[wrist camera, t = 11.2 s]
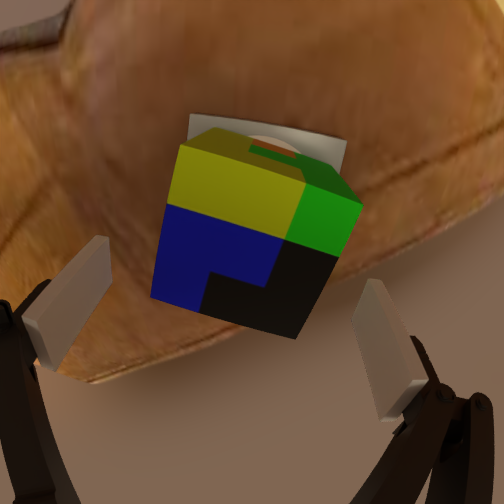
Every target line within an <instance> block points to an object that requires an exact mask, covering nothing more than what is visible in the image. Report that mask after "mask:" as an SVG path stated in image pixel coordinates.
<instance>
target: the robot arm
mask: <svg viewBox="0 0 504 504" xmlns="http://www.w3.org/2000/svg"><path fill="white" fill-rule="evenodd" d="M112 283H113V281H112V271H111V259H110V245H109V237H107V236H101V235H95V236H94V237H93V238H92V239H91V240H90V241H89V242H88V243H87V244H86V245H85V246H84V247H83V248H82V249H81V250H80V251H79V252H78V253H77V254H76V256H75V257H74V258H73V259H72V260H71V261H70V262H69V263H68V264H67V265H66V266H65V267H64V268H63V269H62V270H61V271H60V272H59V273H58V275H57V276H56V277H55V278H54V279H53V280H50V279H47V280H45V281H43V282H41V283H40V284H38V285H37V286H36V288H35V289H34V290H33V291H32V293H30V294H29V295H28V296H27V298H26V299H25V300H24V301H23V302H22V303H21V304H20V306H19V307H18V308H17V309H16V310H15V311H14V313H13V312H12V309H11V306H10V303H9V302H8V301H6V300H2V299H0V440H1V445H2V449H3V454H4V458H5V462H6V465H7V469H8V473H9V476H10V479H11V483H12V486H13V489H14V492H15V500H14V501H13V504H81V502H80V500H79V498H78V496H77V494H76V491H75V489H74V487H73V485H72V482H71V480H70V478H69V475H68V473H67V471H66V468H65V465H64V463H63V461H62V458H61V455H60V452H59V450H58V447H57V444H56V441H55V438H54V435H53V432H52V429H51V426H50V423H49V420H48V416H47V413H46V409H45V406H44V402H43V398H42V394H41V390H40V386H39V382H38V378H37V373H36V368H35V366H34V364H33V363H34V361H35V360H36V358H37V357H38V360H39V362H40V364H41V366H42V367H44V368H47V369H49V370H52V371H55V372H56V371H57V369H58V367H59V365H60V364H61V362H62V360H63V359H64V357H65V355H66V354H67V352H68V350H69V349H70V347H71V345H72V344H73V342H74V340H75V339H76V337H77V336H78V334H79V332H80V331H81V329H82V328H83V326H84V324H85V323H86V321H87V320H88V318H89V317H90V315H91V314H92V312H93V311H94V309H95V308H96V306H97V305H98V303H99V302H100V300H101V299H102V297H103V296H104V294H105V293H106V291H107V290H108V288H109V287H110V285H111V284H112ZM351 322H352V325H353V328H354V331H355V335H356V338H357V341H358V344H359V348H360V351H361V354H362V358H363V361H364V365H365V368H366V372H367V375H368V379H369V382H370V386H371V390H372V394H373V397H374V401H375V405H376V409H377V413H378V417H379V421H380V422H385V421H395V420H396V419H397V418H398V417H399V416H400V415H401V413H403V417H404V421H403V422H402V423H401V424H400V425H399V426H398V428H397V429H396V430H395V431H394V432H393V434H395V435H394V437H393V439H392V440H391V442H390V444H389V445H388V447H387V449H386V451H385V452H384V454H383V455H382V457H381V458H380V460H379V462H378V463H377V465H376V466H375V468H374V469H373V471H372V472H371V474H370V475H369V477H368V478H367V480H366V481H365V483H364V484H363V486H362V487H361V488H360V490H359V491H358V493H357V494H356V495H355V497H354V498H353V500H352V501H351V502H350V504H415V502H416V500H417V498H418V496H419V494H420V492H421V490H422V488H423V486H424V484H425V482H426V480H427V478H428V476H429V474H430V471H431V469H432V473H431V478H430V483H429V488H428V493H427V498H426V501H425V504H491V503H492V493H493V479H494V419H493V407H492V403H491V401H490V399H489V398H488V397H487V396H486V395H484V394H482V393H479V392H477V393H474V394H473V395H472V396H471V397H470V398H469V399H464V398H459V397H456V395H455V392H454V391H453V390H452V388H450V387H449V386H448V385H445V384H443V383H440V381H439V379H438V377H437V374H436V372H435V370H434V368H433V366H432V363H431V362H430V360H429V357H428V355H427V354H426V351H425V349H424V347H423V344H422V343H421V342H420V341H419V340H418V339H417V338H416V337H415V336H409V334H408V332H407V330H406V328H405V326H404V324H403V322H402V320H401V318H400V315H399V313H398V311H397V309H396V307H395V306H394V304H393V302H392V300H391V298H390V296H389V294H388V292H387V290H386V288H385V286H384V284H383V282H382V281H381V280H377V279H371V278H368V280H367V283H366V285H365V287H364V290H363V292H362V295H361V297H360V300H359V302H358V305H357V307H356V309H355V312H354V314H353V316H352V319H351Z"/></svg>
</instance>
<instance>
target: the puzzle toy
mask: <svg viewBox="0 0 504 504" xmlns="http://www.w3.org/2000/svg"><path fill="white" fill-rule="evenodd" d="M363 206H364V205H363V203H362V202H361V201H360V200H359V198H358V197H357V196H356V195H355V193H354V192H353V191H352V190H351V188H350V187H349V186H348V185H347V184H346V182H345V181H344V180H343V179H342V177H341V176H340V175H339V174H338V173H337V171H336V170H335V169H334V168H333V167H332V166H331V165H329V164H327V163H324V162H321V161H319V160H316V159H313V158H311V157H308V156H305V155H302V154H299V153H297V152H294V151H291V150H288V149H285V148H282V147H279V146H276V145H273V144H270V143H267V142H264V141H261V140H258V139H255V138H251V137H248V136H245V135H242V134H238V133H235V132H231V131H228V130H224V129H221V128H217V127H213V128H211V129H209V130H207V131H205V132H203V133H201V134H199V135H197V136H196V137H194V138H192V139H190V140H188V141H186V142H184V143H182V144H180V148H179V152H178V156H177V160H176V164H175V169H174V173H173V177H172V181H171V186H170V190H169V195H168V200H167V204H166V209H165V214H164V219H163V224H162V229H161V234H160V240H159V245H158V251H157V257H156V263H155V269H154V275H153V281H152V288H151V295H150V297H151V298H154V299H157V300H160V301H163V302H166V303H169V304H172V305H175V306H178V307H181V308H185V309H188V310H191V311H194V312H197V313H201V314H204V315H207V316H211V317H214V318H217V319H221V320H224V321H228V322H231V323H235V324H238V325H242V326H246V327H249V328H253V329H257V330H260V331H264V332H268V333H272V334H276V335H279V336H283V337H287V338H291V339H296V338H297V336H298V334H299V332H300V331H301V329H302V327H303V325H304V323H305V322H306V319H307V318H308V316H309V314H310V312H311V310H312V309H313V307H314V305H315V303H316V301H317V299H318V297H319V296H320V294H321V292H322V290H323V288H324V286H325V284H326V282H327V280H328V278H329V276H330V274H331V272H332V270H333V268H334V266H335V264H336V262H337V260H338V258H339V256H340V254H341V252H342V250H343V248H344V246H345V244H346V242H347V240H348V238H349V236H350V234H351V232H352V230H353V227H354V225H355V223H356V221H357V219H358V217H359V214H360V212H361V210H362V208H363Z"/></svg>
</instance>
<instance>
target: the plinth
mask: <svg viewBox="0 0 504 504" xmlns="http://www.w3.org/2000/svg"><path fill="white" fill-rule="evenodd" d="M213 127H217V128H221V129H224V130H228V131H231V132H235V133H238V134H242V135H245V136H248V137H251V138H255V139H258V140H261V141H264V142H267V143H270V144H273V145H276V146H279V147H282V148H285V149H288V150H291V151H294V152H297V153H299V154H302V155H305V156H308V157H311V158H313V159H316V160H319V161H321V162H324V163H327V164H329V165H331V166H332V167H333V168H334V169H335V170H336V171H337V173H338V174H339V173H340V169H341V165H342V161H343V156H344V152H345V148H346V143H347V141H346V140H344V139H343V138H340V137H336V136H332V135H327V134H323V133H319V132H314V131H309V130H305V129H300V128H295V127H290V126H285V125H279V124H274V123H268V122H262V121H256V120H250V119H243V118H236V117H229V116H221V115H213V114H204V113H192V114H190V120H189V128H188V137H187V141H188V140H190V139H192V138H194V137H196V136H197V135H199V134H201V133H203V132H205V131H207V130H209V129H211V128H213Z"/></svg>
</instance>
